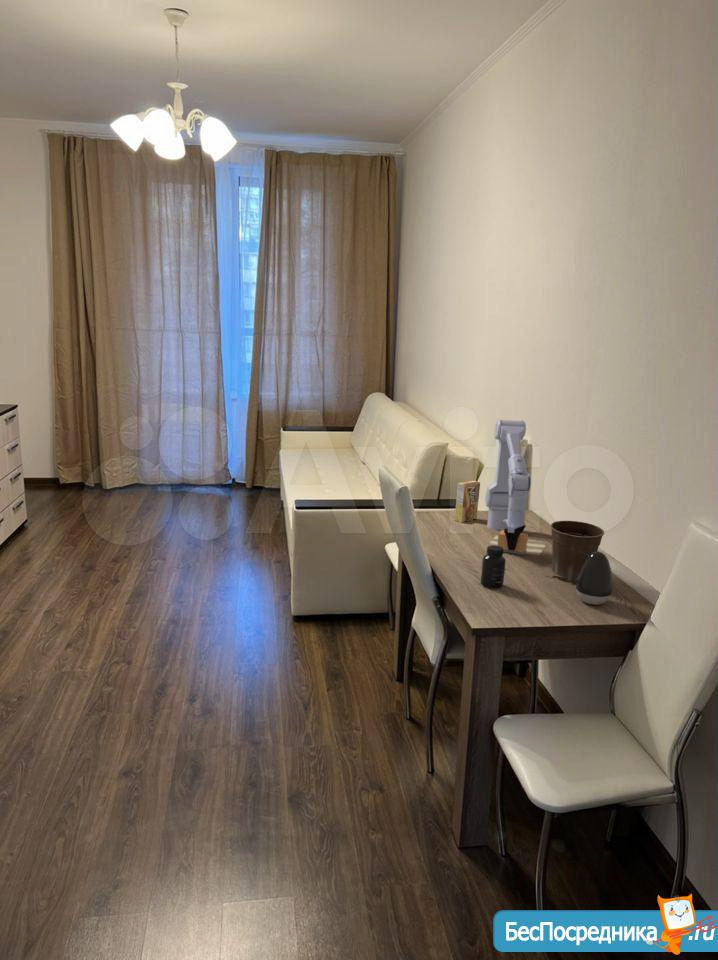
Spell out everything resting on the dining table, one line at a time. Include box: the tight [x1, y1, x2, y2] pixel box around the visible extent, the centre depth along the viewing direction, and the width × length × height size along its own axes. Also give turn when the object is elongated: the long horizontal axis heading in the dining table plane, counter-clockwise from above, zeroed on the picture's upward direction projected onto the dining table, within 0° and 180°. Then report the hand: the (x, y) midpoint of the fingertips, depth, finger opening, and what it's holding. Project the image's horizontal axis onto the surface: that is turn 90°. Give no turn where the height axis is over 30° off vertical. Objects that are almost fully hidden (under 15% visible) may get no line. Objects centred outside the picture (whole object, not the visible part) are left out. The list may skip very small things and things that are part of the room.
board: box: [486, 534, 548, 557], centre depth 258 cm, size 16×18×2 cm
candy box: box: [454, 480, 481, 523], centre depth 288 cm, size 9×4×15 cm, turn 129°
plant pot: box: [550, 520, 605, 584], centre depth 231 cm, size 16×16×16 cm
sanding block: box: [497, 530, 529, 556], centre depth 250 cm, size 5×9×6 cm, turn 67°
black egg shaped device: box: [575, 551, 614, 606], centre depth 212 cm, size 10×10×15 cm
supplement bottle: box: [480, 545, 506, 589], centre depth 221 cm, size 7×7×12 cm
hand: (513, 547), depth 250 cm, fingers closed on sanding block, 5 cm apart
